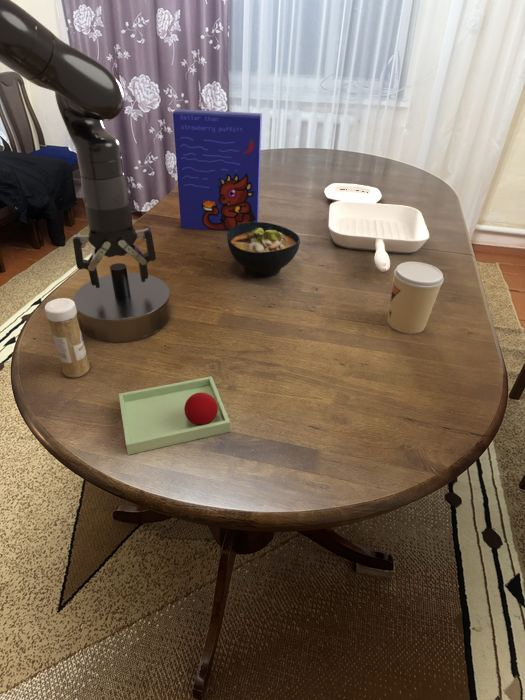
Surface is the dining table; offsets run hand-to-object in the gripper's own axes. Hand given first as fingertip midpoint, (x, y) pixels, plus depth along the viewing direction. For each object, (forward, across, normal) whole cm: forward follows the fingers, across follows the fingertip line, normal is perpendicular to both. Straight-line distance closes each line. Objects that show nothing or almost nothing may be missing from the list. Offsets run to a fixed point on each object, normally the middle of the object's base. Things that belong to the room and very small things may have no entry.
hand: (120, 283), depth 90 cm
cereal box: (+8, -31, -42) cm, 53 cm away
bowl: (+8, -34, -13) cm, 37 cm away
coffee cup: (+8, -55, +18) cm, 58 cm away
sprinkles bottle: (+8, +10, +15) cm, 20 cm away
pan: (+8, -69, -18) cm, 71 cm away
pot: (+8, 0, 0) cm, 8 cm away
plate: (+8, -81, -55) cm, 98 cm away
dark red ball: (+5, -8, +34) cm, 35 cm away
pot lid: (+3, 0, 0) cm, 3 cm away
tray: (+8, -4, +31) cm, 32 cm away
